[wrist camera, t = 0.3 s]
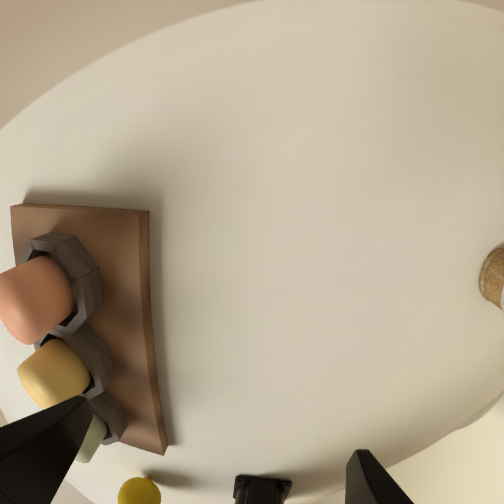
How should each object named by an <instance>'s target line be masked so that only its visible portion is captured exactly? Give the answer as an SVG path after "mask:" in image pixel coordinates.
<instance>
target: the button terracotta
mask: <svg viewBox="0 0 504 504" xmlns="http://www.w3.org/2000/svg"><path fill="white" fill-rule="evenodd" d="M72 309H73V293H72V289H71V285H70V283H69V280H68V278H67V276H66V274H65V273H64V271H63V270H62V268H61V267H60V266H59V265H58V264H57V263H56V262H55V261H54V260H52V259H51V258H49V257H46V256H38V257H36V258H33V259H31V260H29V261H27V262H25V263H22V264H20V265H18V266H16V267H14V268H12V269H9V270H7V271H5V272H3V273H1V274H0V318H1V320H2V322H3V323H4V325H5V326H6V328H7V329H8V331H9V332H10V333H11V334H12V335H13V336H14V337H15V338H16V339H17V340H19V341H20V342H22V343H24V344H27V345H31V344H34V343H35V342H36V341H38V340H39V339H40V338H41V337H43V336H44V335H45V334H46V333H48V332H49V331H50V330H51V329H53V328H54V327H55V326H57V325H58V324H59V323H60V322H62V321H63V320H64V319H66V318H67V317H68V316H69V315H70V313H71V311H72Z"/></svg>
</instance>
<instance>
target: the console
mask: <svg viewBox="0 0 504 504" xmlns="http://www.w3.org/2000/svg"><path fill="white" fill-rule="evenodd" d="M10 211H11V226H12V238H13V247H14V255H15V263H16V266H18V265H20V264H22V263H25V262H27V261H29V260H31V259H33V258H36V257H38V256H46V257H49V258H51V259H52V260H54V261H55V262H56V263H57V264H58V265H59V266H60V267H61V268H62V270H63V271H64V273H65V274H66V276H67V278H68V280H69V283H70V285H71V289H72V293H73V309H72V311H71V313H70V315H69V316H68V317H67V318H66V319H64V320H63V321H62V322H60V323H59V324H58V325H57V326H55V327H54V328H53V329H51V330H50V331H49V332H48V333H46V334H45V335H44V336H43V337H41V338H40V339H39V340H38V341H36V342H35V343H34V348H35V351H37V350H38V349H39V348H41V347H42V346H43V345H44V344H45V343H46V342H48V341H49V340H51V339H57V340H60V341H63V342H65V343H66V344H68V345H69V346H70V347H72V348H73V349H74V350H75V351H76V352H77V353H78V354H79V356H80V357H81V358H82V360H83V361H84V363H85V364H86V366H87V368H88V371H89V374H90V383H89V385H88V386H87V387H86V389H85V390H84V391H83V392H82V393H81V395H80V396H83V397H85V398H87V399H88V400H89V402H90V406H91V409H92V410H93V411H94V412H95V413H96V414H97V415H98V416H99V417H100V418H101V419H102V420H103V422H104V423H105V425H106V427H107V434H106V436H105V437H104V439H103V440H102V442H101V444H103V445H109V444H112V443H115V442H117V441H119V442H122V443H125V444H127V445H130V446H133V447H136V448H139V449H143V450H146V451H149V452H152V453H156V454H159V455H163V456H164V454H165V451H166V449H167V447H168V445H167V440H166V435H165V429H164V423H163V417H162V411H161V404H160V397H159V390H158V382H157V374H156V366H155V356H154V346H153V335H152V322H151V306H150V286H149V211H142V210H129V209H114V208H99V207H82V206H63V205H42V204H18V205H14V206H10Z"/></svg>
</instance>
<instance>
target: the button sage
mask: <svg viewBox="0 0 504 504" xmlns="http://www.w3.org/2000/svg"><path fill="white" fill-rule="evenodd" d="M92 412H93V419H92V422H91V424H90V427H89V429H88V431H87V434H86V436H85V438H84V441H83V443H82V446H81V448H80V450H79V452H78V454H77V456H76V458H75V460H77V461H79V462H82V463H88V462H89V461H90V460H91V458H92V456H93V455H94V453H95V452H96V450H97V448H98V447H99V445H100V444H101V442H102V440H103V439H104V437H105V436H106V434H107V427H106V425H105V423H104V422H103V420H102V419H101V418H100V417H99V416H98V415H97V414H96V413H95V412H94V411H93V410H92Z"/></svg>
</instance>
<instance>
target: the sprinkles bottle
mask: <svg viewBox="0 0 504 504" xmlns="http://www.w3.org/2000/svg"><path fill="white" fill-rule="evenodd" d="M479 287H480V291H481V294H482V296H483V297H484V298H485V299H486V300H488V301H490V302H492V303H493V304H495V305H496V306H497V307H499V308H500V309H501V310H502V311H503V312H504V248H500V249H497V250H495V251H494V252H493V253H491V254H490V256H489V257H488V258H487V259H486V261H485V262H484V264H483V267H482V269H481V273H480V279H479Z"/></svg>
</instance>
